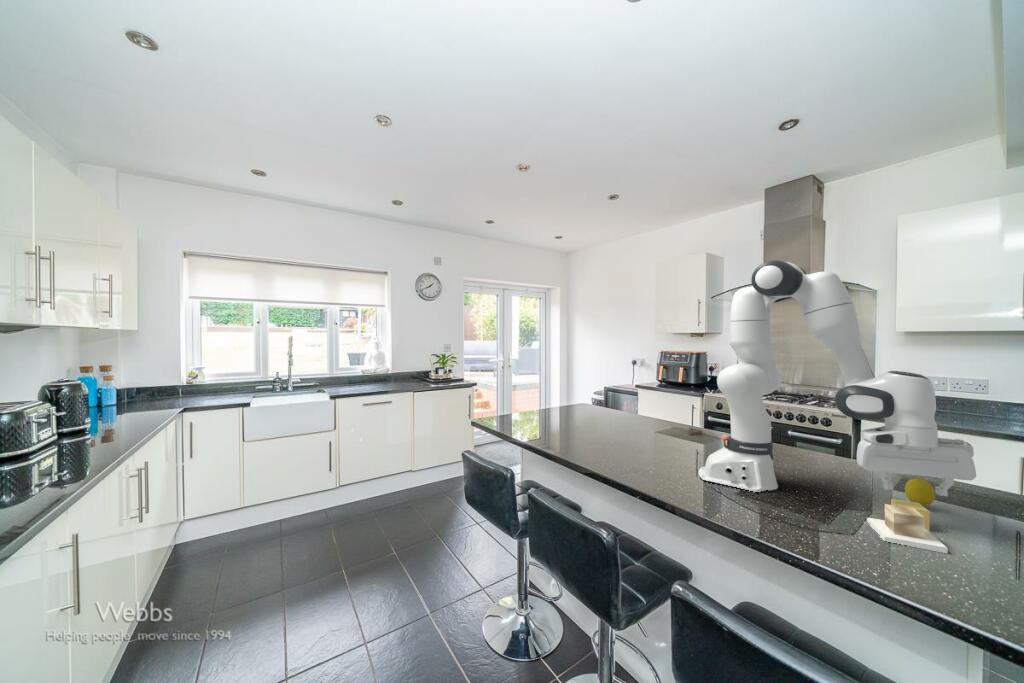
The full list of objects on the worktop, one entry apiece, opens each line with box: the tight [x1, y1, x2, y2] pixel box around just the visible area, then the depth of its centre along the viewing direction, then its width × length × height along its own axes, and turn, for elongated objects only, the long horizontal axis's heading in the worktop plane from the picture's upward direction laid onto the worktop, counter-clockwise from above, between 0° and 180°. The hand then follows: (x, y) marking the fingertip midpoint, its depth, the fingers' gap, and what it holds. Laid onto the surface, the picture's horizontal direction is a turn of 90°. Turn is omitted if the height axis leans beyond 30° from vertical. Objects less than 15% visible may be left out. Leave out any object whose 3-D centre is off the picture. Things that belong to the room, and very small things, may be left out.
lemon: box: [904, 477, 936, 507], centre depth 99 cm, size 6×6×8 cm
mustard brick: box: [890, 498, 931, 532], centre depth 90 cm, size 5×5×5 cm
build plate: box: [866, 517, 949, 554], centre depth 85 cm, size 10×10×1 cm
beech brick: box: [884, 503, 925, 539], centre depth 85 cm, size 5×5×5 cm
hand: (913, 492), depth 89 cm, fingers open, 8 cm apart
